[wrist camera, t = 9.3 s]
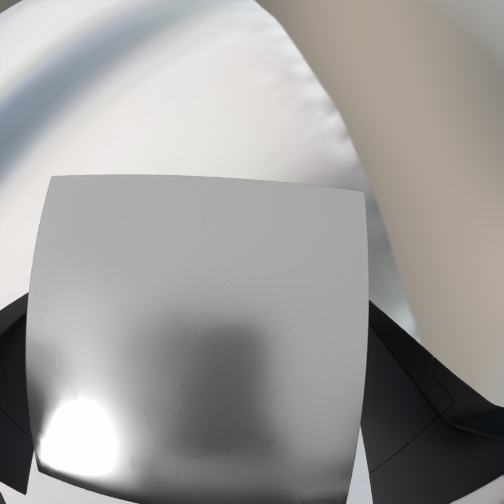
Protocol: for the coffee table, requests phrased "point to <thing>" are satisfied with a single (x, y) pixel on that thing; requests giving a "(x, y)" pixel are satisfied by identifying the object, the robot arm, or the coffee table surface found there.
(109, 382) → the white foam block
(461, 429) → the robot arm
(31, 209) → the coffee table surface
